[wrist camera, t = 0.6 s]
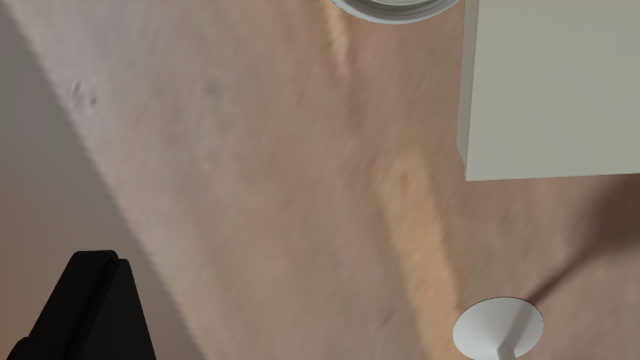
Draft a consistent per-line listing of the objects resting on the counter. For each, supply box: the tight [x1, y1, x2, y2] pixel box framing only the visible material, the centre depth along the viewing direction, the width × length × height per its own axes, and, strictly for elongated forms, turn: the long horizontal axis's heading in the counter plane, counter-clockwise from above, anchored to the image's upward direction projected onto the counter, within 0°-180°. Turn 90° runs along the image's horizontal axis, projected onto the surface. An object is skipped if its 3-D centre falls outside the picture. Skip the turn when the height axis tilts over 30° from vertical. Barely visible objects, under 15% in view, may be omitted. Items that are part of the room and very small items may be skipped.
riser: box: [456, 0, 640, 181], centre depth 32 cm, size 14×12×4 cm
